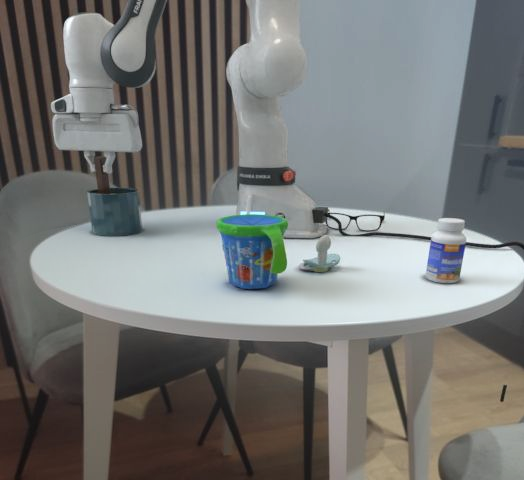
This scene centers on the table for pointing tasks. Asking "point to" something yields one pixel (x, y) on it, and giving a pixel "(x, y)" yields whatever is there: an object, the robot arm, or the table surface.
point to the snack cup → (253, 249)
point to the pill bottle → (446, 251)
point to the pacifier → (321, 257)
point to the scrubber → (101, 176)
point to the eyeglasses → (356, 221)
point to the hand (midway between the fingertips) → (101, 173)
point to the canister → (115, 212)
